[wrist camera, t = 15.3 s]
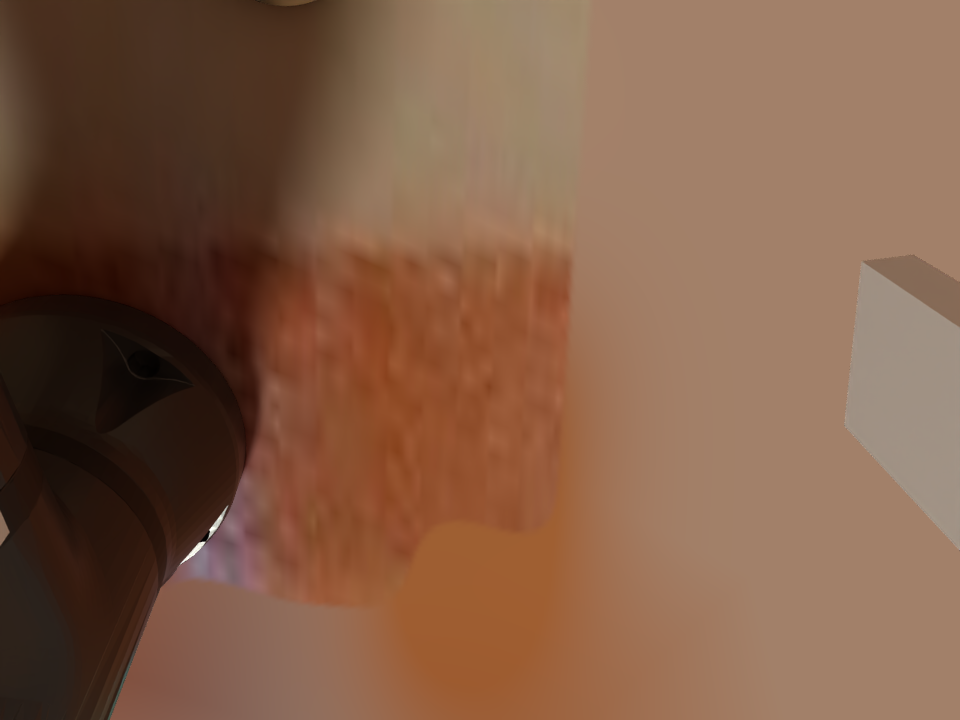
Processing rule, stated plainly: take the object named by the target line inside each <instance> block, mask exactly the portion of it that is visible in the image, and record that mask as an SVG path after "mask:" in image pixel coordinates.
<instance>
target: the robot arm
mask: <svg viewBox="0 0 960 720" xmlns="http://www.w3.org/2000/svg"><path fill="white" fill-rule="evenodd" d="M844 426H845V427H846V428H847V429H848V430H849V431H850V433H851V434H852V435H853V436H854V437H855V438H856V439H857V440H858V441H859V442H860V443H861V444H862V445H863V447H864V448H865V449H866V450H867V451H868V452H869V453H870V454H871V455H872V456H873V457H874V458H875V460H876V461H877V462H878V463H879V464H880V465H881V466H882V467H883V468H884V469H885V470H886V471H887V472H888V474H889V475H890V476H891V477H892V478H893V479H894V480H895V481H896V482H897V483H898V484H899V485H900V486H901V488H902V489H903V490H904V491H905V492H906V493H907V494H908V495H909V496H910V497H911V498H912V500H914V502H915V503H916V504H917V505H918V506H919V507H920V508H921V509H922V510H923V511H924V512H925V513H926V514H927V516H928V517H929V518H930V519H931V520H932V521H933V522H934V523H935V524H936V525H937V527H938V528H939V529H940V530H941V531H942V532H943V533H944V534H945V535H946V536H947V537H948V538H949V539H950V540H951V542H952V543H953V544H954V545H955V546H956V547H957V548H958V549H959V550H960V282H959V281H957V280H955V279H954V278H952V277H950V276H949V275H947V274H945V273H943V272H942V271H940V270H938V269H937V268H935V267H933V266H932V265H930V264H928V263H926V262H925V261H923V260H922V259H920V258H918V257H916V256H915V255H908V256H899V257H892V258H884V259H875V260H867V261H862V262H861V271H860V281H859V290H858V300H857V309H856V318H855V328H854V337H853V347H852V356H851V367H850V375H849V385H848V394H847V404H846V414H845V423H844ZM245 452H246V440H245V430H244V425H243V420H242V416H241V413H240V410H239V407H238V404H237V402H236V399H235V397H234V395H233V393H232V391H231V389H230V387H229V385H228V384H227V382H226V380H225V379H224V377H223V376H222V374H221V373H220V372H219V370H218V369H217V368H216V366H215V365H214V364H213V363H212V361H211V360H210V359H209V358H208V357H207V356H206V355H205V354H204V353H203V352H202V351H201V350H200V349H199V348H198V347H197V346H196V345H195V344H193V343H192V342H191V341H190V340H189V339H187V338H186V337H185V336H184V335H182V334H181V333H179V332H178V331H177V330H175V329H174V328H172V327H170V326H169V325H167V324H166V323H164V322H162V321H160V320H158V319H156V318H155V317H153V316H151V315H148V314H146V313H144V312H142V311H139V310H137V309H134V308H132V307H129V306H126V305H123V304H120V303H116V302H112V301H108V300H104V299H99V298H93V297H86V296H76V295H49V296H39V297H32V298H27V299H22V300H18V301H14V302H11V303H8V304H5V305H2V306H0V720H110V718H111V715H112V713H113V710H114V707H115V705H116V702H117V700H118V697H119V694H120V692H121V689H122V687H123V684H124V681H125V679H126V676H127V673H128V671H129V668H130V666H131V663H132V661H133V658H134V655H135V653H136V650H137V648H138V645H139V642H140V639H141V637H142V635H143V632H144V629H145V627H146V624H147V621H148V619H149V616H150V613H151V611H152V608H153V606H154V603H155V601H156V598H157V596H158V593H159V591H160V588H161V587H162V586H163V585H164V584H165V583H166V582H167V581H168V580H169V579H170V577H171V576H172V575H173V574H174V573H175V571H176V570H177V567H178V566H179V565H180V564H182V563H184V562H185V561H187V560H188V559H189V558H190V557H192V556H193V555H194V554H195V553H196V552H198V551H199V550H200V549H201V548H202V547H203V546H204V545H205V544H206V543H207V542H208V541H209V540H210V539H211V538H212V536H213V535H214V534H215V533H216V531H217V530H218V528H219V527H220V525H221V524H222V522H223V521H224V519H225V517H226V515H227V514H228V512H229V510H230V507H231V505H232V503H233V500H234V497H235V494H236V491H237V488H238V485H239V482H240V479H241V475H242V472H243V467H244V462H245Z"/></svg>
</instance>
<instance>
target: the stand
mask: <svg viewBox="0 0 960 720" xmlns="http://www.w3.org/2000/svg"><path fill="white" fill-rule="evenodd" d="M256 1H258V2H262V3H266V4H270V5H278V6H296V5H301V4H307V3H310V2H313V1H316V0H256Z"/></svg>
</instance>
